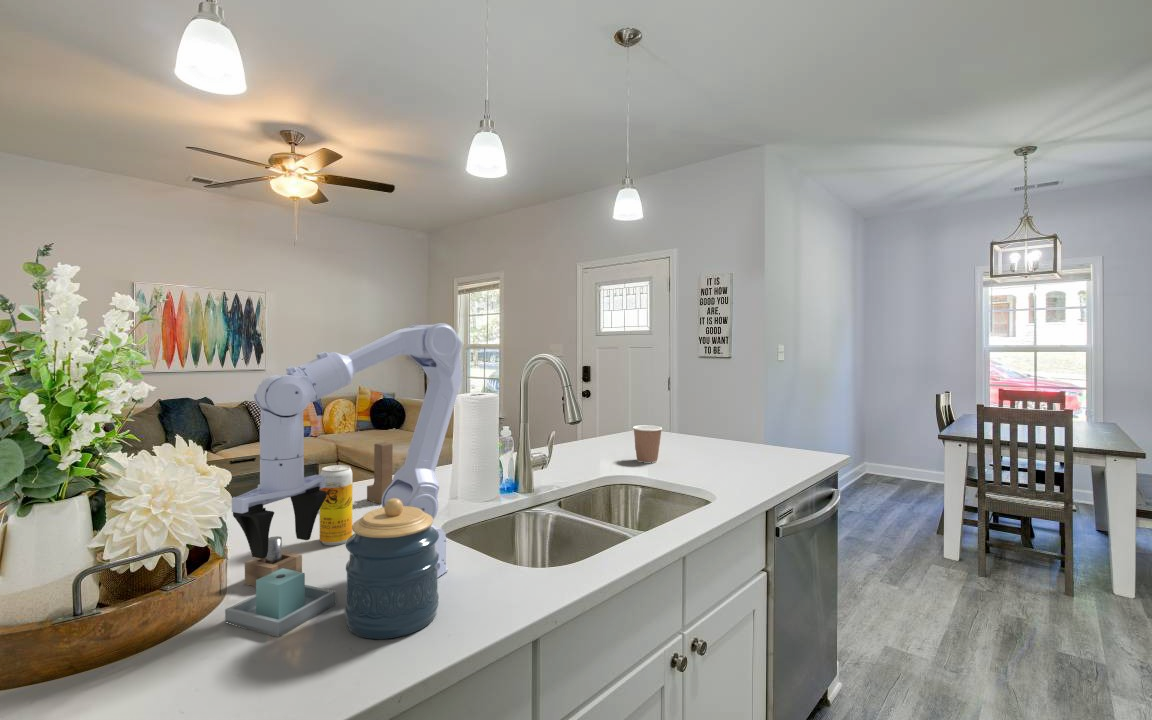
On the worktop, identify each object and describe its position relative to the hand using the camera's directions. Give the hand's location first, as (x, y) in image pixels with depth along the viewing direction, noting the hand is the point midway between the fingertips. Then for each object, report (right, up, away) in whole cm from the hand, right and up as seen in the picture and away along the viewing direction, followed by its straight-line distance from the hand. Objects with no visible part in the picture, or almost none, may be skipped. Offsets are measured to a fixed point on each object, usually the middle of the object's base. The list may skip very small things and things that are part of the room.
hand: (282, 547), depth 80 cm
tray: (0, -10, 0) cm, 10 cm away
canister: (+17, -10, -1) cm, 20 cm away
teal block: (0, -9, 0) cm, 9 cm away
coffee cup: (+69, -8, +110) cm, 130 cm away
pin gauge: (-8, -10, +11) cm, 17 cm away
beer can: (-5, -9, +30) cm, 32 cm away
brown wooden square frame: (-8, -10, +12) cm, 17 cm away
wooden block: (-7, -9, +58) cm, 59 cm away
